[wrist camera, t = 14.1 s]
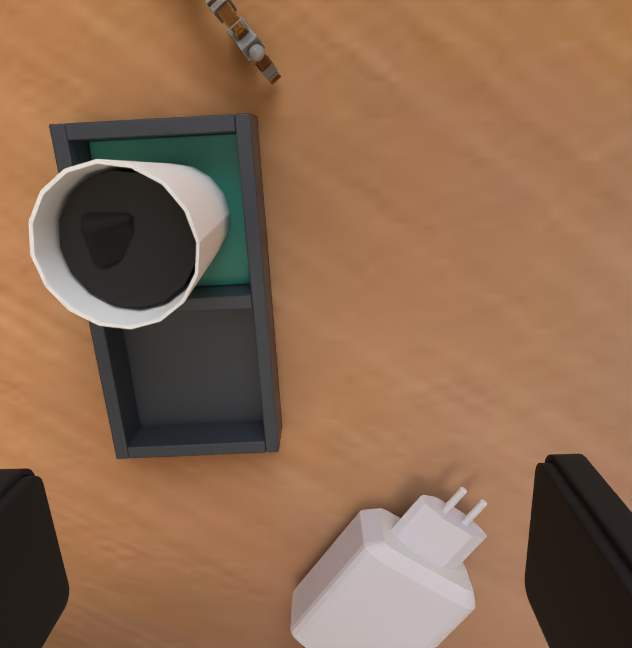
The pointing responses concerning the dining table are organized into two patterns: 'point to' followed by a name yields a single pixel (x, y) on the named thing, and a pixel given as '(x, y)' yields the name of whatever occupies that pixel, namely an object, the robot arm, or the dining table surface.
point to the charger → (391, 579)
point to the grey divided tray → (193, 304)
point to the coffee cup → (126, 238)
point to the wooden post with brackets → (244, 37)
